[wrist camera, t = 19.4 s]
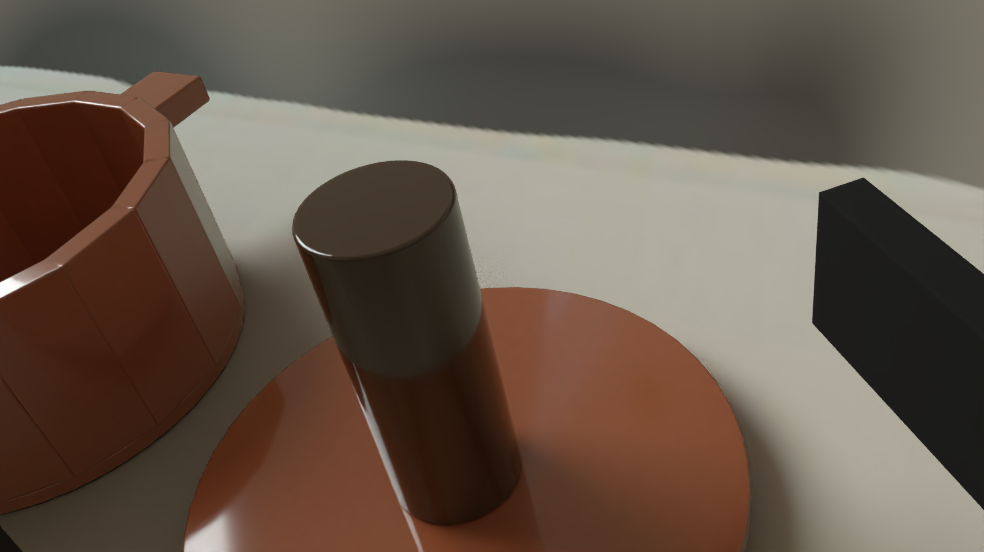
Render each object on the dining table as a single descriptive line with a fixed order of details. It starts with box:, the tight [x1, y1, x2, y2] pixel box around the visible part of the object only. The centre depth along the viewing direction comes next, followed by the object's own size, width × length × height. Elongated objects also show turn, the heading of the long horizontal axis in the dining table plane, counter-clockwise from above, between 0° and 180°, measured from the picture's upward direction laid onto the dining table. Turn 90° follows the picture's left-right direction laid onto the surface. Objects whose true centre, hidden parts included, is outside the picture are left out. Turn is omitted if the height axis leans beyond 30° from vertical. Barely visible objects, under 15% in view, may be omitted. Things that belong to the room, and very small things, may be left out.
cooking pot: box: [0, 71, 244, 514], centre depth 29 cm, size 13×18×6 cm
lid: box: [183, 161, 751, 552], centre depth 20 cm, size 14×14×9 cm
